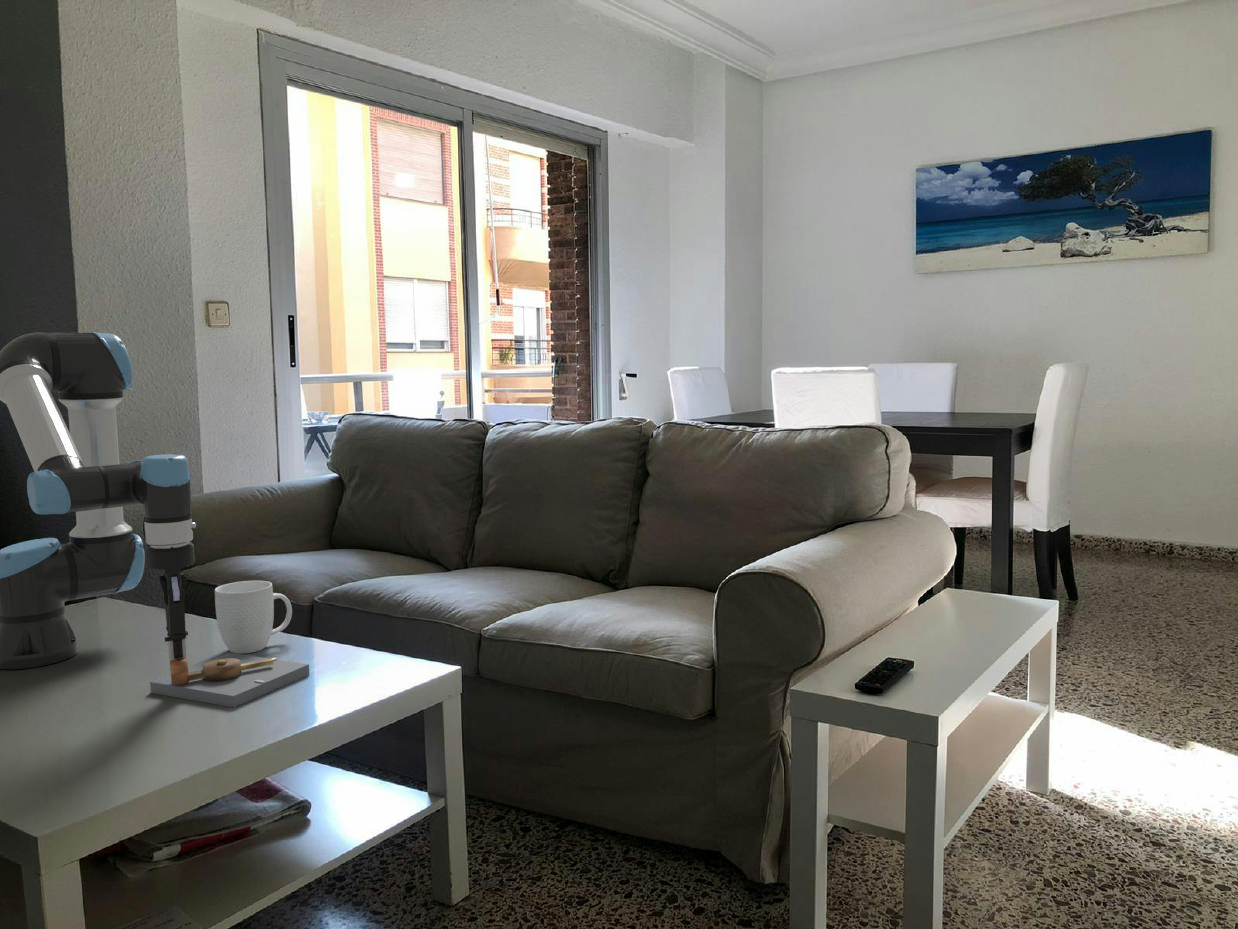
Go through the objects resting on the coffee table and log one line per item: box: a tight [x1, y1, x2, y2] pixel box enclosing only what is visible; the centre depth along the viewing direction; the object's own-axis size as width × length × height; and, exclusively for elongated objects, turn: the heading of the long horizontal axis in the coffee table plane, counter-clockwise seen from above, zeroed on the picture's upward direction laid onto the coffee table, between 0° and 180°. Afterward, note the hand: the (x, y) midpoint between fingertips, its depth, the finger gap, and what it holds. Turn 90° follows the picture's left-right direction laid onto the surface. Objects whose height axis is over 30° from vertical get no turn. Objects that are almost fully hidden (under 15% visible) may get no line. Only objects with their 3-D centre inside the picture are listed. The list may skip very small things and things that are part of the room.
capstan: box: [169, 657, 273, 685], centre depth 173 cm, size 17×6×4 cm, turn 124°
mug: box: [214, 580, 293, 655], centre depth 196 cm, size 15×11×13 cm
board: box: [149, 652, 310, 708], centre depth 175 cm, size 20×18×2 cm
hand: (179, 674), depth 171 cm, fingers closed
